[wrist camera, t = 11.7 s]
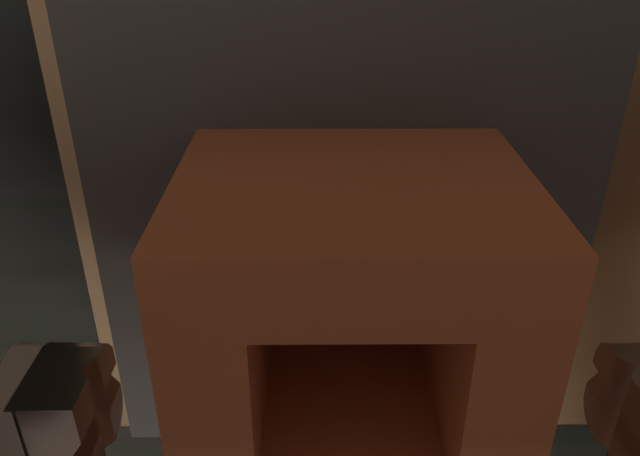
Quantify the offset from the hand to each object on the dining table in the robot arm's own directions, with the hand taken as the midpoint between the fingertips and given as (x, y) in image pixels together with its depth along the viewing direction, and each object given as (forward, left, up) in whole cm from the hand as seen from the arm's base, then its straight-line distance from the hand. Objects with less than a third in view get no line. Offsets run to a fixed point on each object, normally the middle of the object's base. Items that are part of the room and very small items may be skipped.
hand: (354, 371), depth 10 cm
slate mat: (0, 0, -4) cm, 4 cm away
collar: (0, 0, -4) cm, 4 cm away
